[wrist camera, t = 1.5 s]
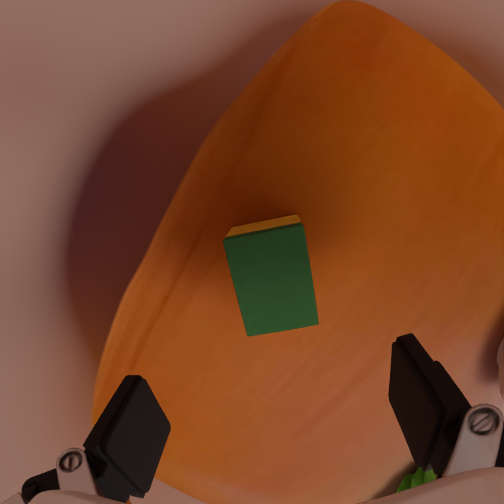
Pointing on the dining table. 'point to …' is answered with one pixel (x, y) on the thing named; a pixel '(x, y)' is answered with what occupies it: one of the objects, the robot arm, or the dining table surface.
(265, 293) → the sponge
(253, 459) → the dining table surface
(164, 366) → the dining table surface
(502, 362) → the bowl
